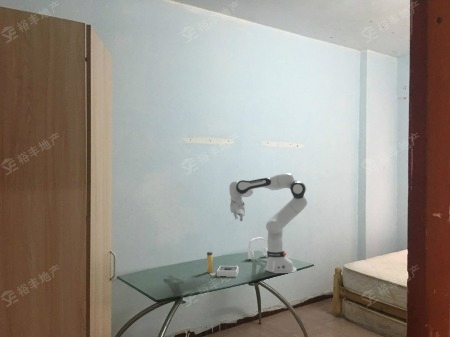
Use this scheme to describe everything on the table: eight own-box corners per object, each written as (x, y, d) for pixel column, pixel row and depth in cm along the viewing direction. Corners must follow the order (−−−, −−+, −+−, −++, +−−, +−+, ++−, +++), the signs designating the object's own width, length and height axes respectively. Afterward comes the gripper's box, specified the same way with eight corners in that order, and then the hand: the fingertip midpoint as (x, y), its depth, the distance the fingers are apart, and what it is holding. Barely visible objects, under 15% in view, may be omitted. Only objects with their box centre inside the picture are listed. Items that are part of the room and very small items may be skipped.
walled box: (238, 271, 250) (238, 266, 250) (236, 276, 237) (236, 271, 237) (220, 271, 252) (219, 265, 252) (216, 276, 239) (216, 270, 239)
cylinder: (213, 271, 252) (212, 251, 252) (212, 273, 248) (211, 253, 248) (207, 271, 252) (207, 251, 253) (206, 272, 248) (206, 253, 249)
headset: (251, 260, 281) (250, 239, 281) (246, 259, 287) (245, 238, 287) (269, 257, 292) (269, 236, 292) (264, 255, 298) (263, 235, 298)
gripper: (234, 198, 249) (237, 217, 244) (245, 204, 267) (247, 221, 262) (227, 200, 251) (229, 218, 246) (238, 205, 269) (240, 222, 264)
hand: (238, 220), depth 254 cm, fingers open, 8 cm apart
